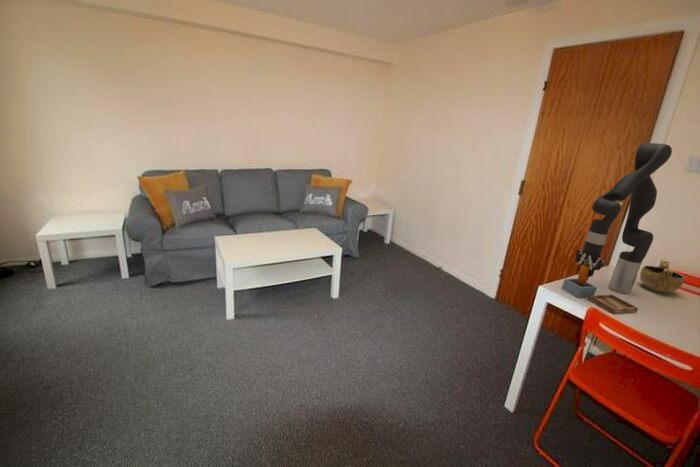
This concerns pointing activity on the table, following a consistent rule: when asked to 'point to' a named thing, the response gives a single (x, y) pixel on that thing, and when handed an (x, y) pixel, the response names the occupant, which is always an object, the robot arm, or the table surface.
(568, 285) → the blue-grey square box
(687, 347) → the table surface
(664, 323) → the table surface
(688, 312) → the table surface
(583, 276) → the carrot
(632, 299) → the table surface
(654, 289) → the tan woven basket
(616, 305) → the tray
